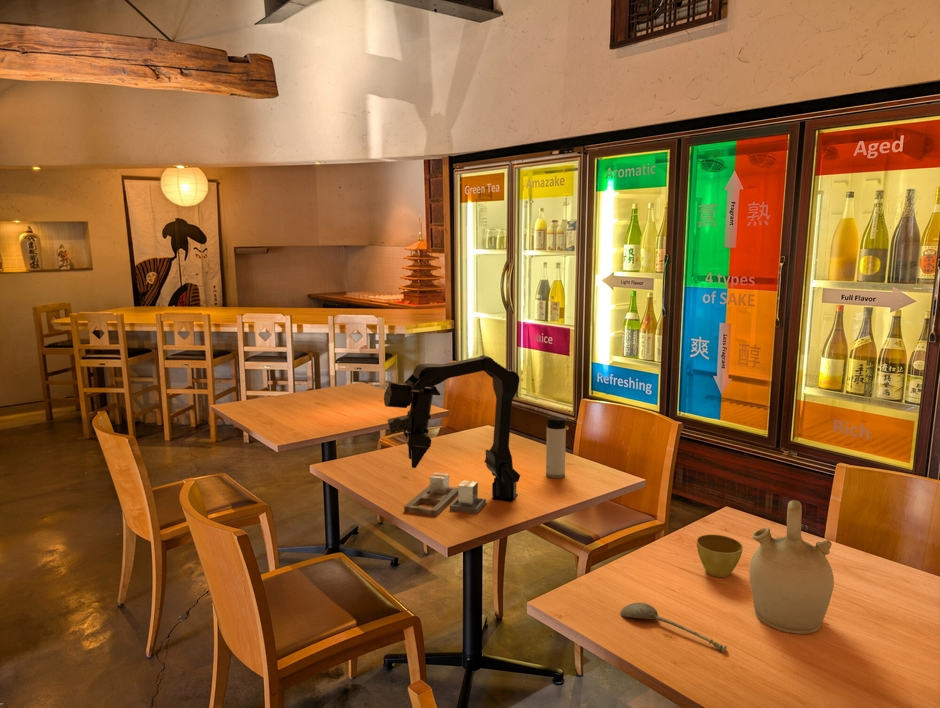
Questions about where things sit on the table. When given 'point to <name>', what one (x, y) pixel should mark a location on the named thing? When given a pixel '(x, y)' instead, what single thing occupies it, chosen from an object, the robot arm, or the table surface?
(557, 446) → the travel mug
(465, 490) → the block
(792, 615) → the jug
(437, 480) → the block
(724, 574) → the flower pot
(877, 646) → the table surface
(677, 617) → the table surface
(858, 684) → the table surface
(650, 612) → the soupspoon
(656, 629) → the table surface
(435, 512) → the grey flat frame
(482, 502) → the grey tray
